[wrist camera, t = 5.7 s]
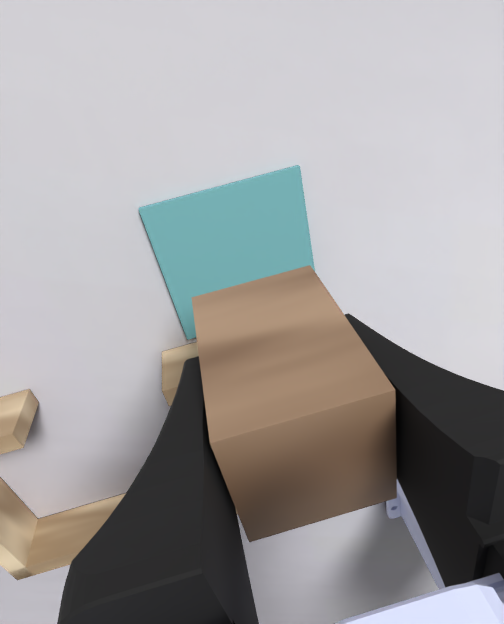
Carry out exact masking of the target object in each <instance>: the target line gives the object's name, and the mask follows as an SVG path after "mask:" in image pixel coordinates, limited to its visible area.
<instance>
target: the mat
mask: <svg viewBox="0 0 504 624" xmlns="http://www.w3.org/2000/svg"><path fill="white" fill-rule="evenodd" d="M139 212H140V215H141V217H142V220H143V223H144V225H145V228H146V231H147V233H148V236H149V239H150V241H151V244H152V247H153V249H154V252H155V255H156V257H157V260H158V263H159V265H160V268H161V271H162V273H163V276H164V279H165V281H166V284H167V287H168V289H169V292H170V295H171V297H172V300H173V303H174V305H175V308H176V311H177V313H178V316H179V319H180V321H181V324H182V327H183V329H184V332H185V335H186V337H187V340H188V339H192V338H196V330H195V322H194V314H193V306H192V298H191V297H195V296H199V295H202V294H206V293H210V292H213V291H217V290H221V289H224V288H228V287H232V286H235V285H239V284H243V283H246V282H250V281H254V280H257V279H261V278H265V277H268V276H272V275H276V274H279V273H283V272H287V271H290V270H294V269H298V268H301V267H305V266H309V265H310V266H311V267H312V268H313V270H314V271H315V269H314V262H313V255H312V248H311V241H310V234H309V227H308V220H307V213H306V206H305V199H304V192H303V185H302V178H301V171H300V166H298V165H297V166H293V167H289V168H285V169H282V170H278V171H274V172H270V173H267V174H263V175H259V176H255V177H252V178H248V179H244V180H241V181H237V182H233V183H229V184H226V185H222V186H218V187H214V188H211V189H207V190H203V191H200V192H196V193H192V194H188V195H185V196H181V197H177V198H173V199H170V200H166V201H162V202H159V203H155V204H151V205H147V206H144V207H140V208H139Z"/></svg>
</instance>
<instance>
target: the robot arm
mask: <svg viewBox="0 0 504 624" xmlns="http://www.w3.org/2000/svg"><path fill="white" fill-rule="evenodd" d="M345 317H346V318H347V320H348V321H349V323H350V324H351V326H352V327H353V328H354V330H355V331H356V333H357V334H358V336H359V337H360V339H361V340H362V342H363V343H364V345H365V346H366V348H367V349H368V350H369V352H370V353H371V355H372V356H373V358H374V359H375V361H376V362H377V364H378V365H379V367H380V368H381V369H382V371H383V372H384V374H385V375H386V377H387V378H388V380H389V381H390V383H391V384H392V386H393V387H394V389H395V397H396V468H397V498H395V499H392V500H388V501H386V512H387V515H388V517H389V518H391V519H393V518H397V517H400V516H402V518H403V520H404V522H405V524H406V526H407V528H408V530H409V532H410V534H411V536H412V538H413V540H414V542H415V544H416V546H417V548H418V550H419V551H420V553H421V555H422V557H423V559H424V561H425V563H426V565H427V567H428V569H429V571H430V573H431V575H432V577H433V579H434V581H435V583H436V585H437V587H438V588H439V590H436V591H433V592H430V593H427V594H423V595H420V596H417V597H414V598H411V599H407V600H404V601H401V602H398V603H395V604H391V605H388V606H385V607H382V608H379V609H375V610H372V611H369V612H366V613H362V614H359V615H356V616H353V617H350V618H346V619H344V620H341V621H339V622H337V623H334V624H504V391H503V390H500V389H496V388H493V387H490V386H487V385H484V384H481V383H478V382H475V381H473V380H470V379H467V378H464V377H462V376H459V375H457V374H454V373H452V372H450V371H447V370H445V369H443V368H440V367H438V366H436V365H434V364H432V363H429V362H427V361H425V360H423V359H421V358H420V357H418V356H416V355H414V354H412V353H410V352H408V351H407V350H405V349H403V348H401V347H400V346H398V345H396V344H395V343H393V342H391V341H390V340H388V339H386V338H385V337H383V336H382V335H380V334H379V333H377V332H376V331H374V330H373V329H371V328H370V327H368V326H367V325H365V324H364V323H362V322H361V321H359V320H358V319H356V318H355V317H353V316H352V315H350V314H345ZM57 624H259V623H258V618H257V613H256V609H255V604H254V599H253V594H252V589H251V585H250V580H249V575H248V570H247V565H246V560H245V555H244V550H243V545H242V540H241V535H240V529H239V524H238V519H237V514H236V508H235V505H234V503H233V500H232V498H231V495H230V492H229V490H228V487H227V485H226V482H225V480H224V477H223V475H222V472H221V470H220V467H219V465H218V462H217V460H216V457H215V455H214V452H213V450H212V447H211V445H210V440H209V432H208V424H207V416H206V409H205V401H204V393H203V385H202V377H201V369H200V361H199V356H197V357H194V358H190V359H187V360H186V361H185V362H184V365H183V370H182V374H181V378H180V381H179V384H178V388H177V391H176V394H175V397H174V400H173V402H172V405H171V408H170V411H169V413H168V416H167V418H166V420H165V423H164V425H163V427H162V430H161V432H160V434H159V437H158V439H157V441H156V443H155V445H154V447H153V449H152V451H151V453H150V455H149V456H148V458H147V460H146V462H145V464H144V465H143V467H142V469H141V470H140V472H139V474H138V475H137V477H136V479H135V480H134V482H133V484H132V485H131V487H130V488H129V490H128V491H127V493H126V494H125V496H124V497H123V498H122V500H121V501H120V502H119V504H118V505H117V507H116V508H115V509H114V511H113V512H112V513H111V515H110V516H109V518H108V519H107V520H106V522H105V523H104V524H103V525H102V527H101V528H100V529H99V530H98V531H97V533H96V534H95V535H94V536H93V537H92V538H91V540H90V541H89V542H88V543H87V544H86V545H85V547H84V548H83V549H82V550H81V551H80V552H79V553H78V555H77V556H76V557H75V558H74V559H73V560H72V561H71V565H70V569H69V572H68V576H67V579H66V582H65V586H64V590H63V595H62V600H61V606H60V612H59V617H58V623H57Z"/></svg>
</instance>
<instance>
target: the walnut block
mask: <svg viewBox="0 0 504 624" xmlns="http://www.w3.org/2000/svg"><path fill="white" fill-rule="evenodd" d="M191 298H192V306H193V314H194V322H195V330H196V337H197V345H198V353H199V361H200V369H201V377H202V385H203V393H204V401H205V409H206V416H207V424H208V432H209V440H210V445H211V447H212V450H213V452H214V455H215V457H216V460H217V462H218V465H219V467H220V470H221V472H222V475H223V477H224V480H225V482H226V485H227V487H228V490H229V492H230V495H231V498H232V500H233V503H234V505H235V508H236V510H237V513H238V515H239V518H240V520H241V523H242V525H243V528H244V530H245V533H246V535H247V538H248V540H249V542H252V541H255V540H258V539H262V538H265V537H268V536H272V535H275V534H278V533H282V532H285V531H288V530H292V529H295V528H298V527H302V526H305V525H308V524H312V523H315V522H318V521H322V520H325V519H328V518H332V517H335V516H338V515H342V514H345V513H348V512H352V511H355V510H358V509H362V508H365V507H368V506H372V505H375V504H378V503H382V502H385V501H388V500H392V499H395V498H397V468H396V397H395V389H394V387H393V386H392V384H391V383H390V381H389V380H388V378H387V377H386V375H385V374H384V372H383V371H382V369H381V368H380V367H379V365H378V364H377V362H376V361H375V359H374V358H373V356H372V355H371V353H370V352H369V350H368V349H367V348H366V346H365V345H364V343H363V342H362V340H361V339H360V337H359V336H358V334H357V333H356V331H355V330H354V328H353V327H352V326H351V324H350V323H349V321H348V320H347V318H346V317H345V315H344V314H343V312H342V311H341V309H340V308H339V307H338V305H337V304H336V302H335V301H334V299H333V298H332V296H331V295H330V293H329V292H328V290H327V289H326V287H325V286H324V285H323V283H322V282H321V280H320V279H319V277H318V276H317V274H316V273H315V271H314V270H313V268H312V267H311V266H310V265H309V266H305V267H301V268H298V269H294V270H290V271H287V272H283V273H279V274H276V275H272V276H268V277H265V278H261V279H257V280H254V281H250V282H246V283H243V284H239V285H235V286H232V287H228V288H224V289H221V290H217V291H213V292H210V293H206V294H202V295H199V296H195V297H191Z"/></svg>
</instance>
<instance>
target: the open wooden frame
mask: <svg viewBox="0 0 504 624" xmlns="http://www.w3.org/2000/svg"><path fill="white" fill-rule="evenodd" d="M197 356H199V353H198V345H197V342H195V343H191V344H188V345H184V346H181V347H177V348H173V349H170V350H166V351H163V352H162V392H163V394H164V396H165V399H166V401H167V403H168V405H169V406H171V405H172V402H173V400H174V397H175V394H176V391H177V388H178V384H179V381H180V378H181V374H182V370H183V365H184V362H185V361H186V360H187V359H190V358H194V357H197ZM38 404H39V402H38V401H37V399H36V398H35V396H34V395H33V393H32V392H31V391H30V389H28V390H24V391H21V392H17V393H14V394H10V395H7V396H3V397H0V454H3V453H7V452H10V451H14V450H17V449H21V448H24V445H25V442H26V439H27V436H28V433H29V430H30V427H31V424H32V421H33V418H34V415H35V412H36V410H37V407H38ZM125 494H126V493H125ZM125 494H122V495H118V496H115V497H111V498H108V499H105V500H101V501H98V502H94V503H91V504H88V505H84V506H81V507H77V508H74V509H71V510H67V511H64V512H60V513H57V514H53V515H50V516H47V517H43V518H40V519H37V517H36V516H35V515H34V514H33V513H32V512H31V511H30V510H29V509H28V507H27V506H26V505H25V504H24V503H23V502H22V501H21V500H20V499H19V498H18V496H17V495H16V494H15V493H14V492H13V491H12V490H11V489H10V488H9V486H8V485H7V484H6V483H5V482H4V481H3V480H2V479H1V478H0V565H1V566H2V567H3V568H4V569H5V570H7V571H8V572H9V573H10V574H11V575H12V576H13V577H14V578H15V579H17V580H20V579H23V578H26V577H30V576H33V575H36V574H40V573H43V572H46V571H50V570H53V569H56V568H60V567H63V566H66V565H70V564H71V561H72V560H73V559H74V558H75V557H76V556H77V555H78V553H79V552H80V551H81V550H82V549H83V548H84V547H85V545H86V544H87V543H88V542H89V541H90V540H91V538H92V537H93V536H94V535H95V534H96V533H97V531H98V530H99V529H100V528H101V527H102V525H103V524H104V523H105V522H106V520H107V519H108V518H109V516H110V515H111V513H112V512H113V511H114V509H115V508H116V507H117V505H118V504H119V502H120V501H121V500H122V498H123V497H124V496H125ZM236 514H238V513H237V510H236Z"/></svg>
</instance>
